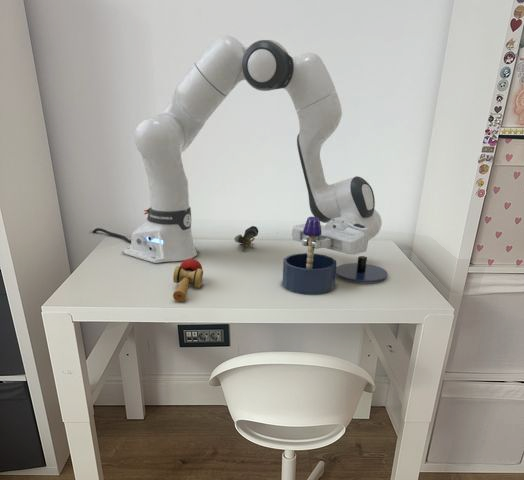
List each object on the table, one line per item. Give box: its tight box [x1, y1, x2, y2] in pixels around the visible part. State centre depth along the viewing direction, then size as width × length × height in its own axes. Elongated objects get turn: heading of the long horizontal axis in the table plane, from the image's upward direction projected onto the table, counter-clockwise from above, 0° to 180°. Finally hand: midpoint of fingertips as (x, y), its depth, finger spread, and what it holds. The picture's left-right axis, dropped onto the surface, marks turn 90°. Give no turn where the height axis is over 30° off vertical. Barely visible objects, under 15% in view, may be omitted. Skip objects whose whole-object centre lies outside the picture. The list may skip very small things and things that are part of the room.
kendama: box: [172, 258, 204, 303], centre depth 126 cm, size 8×6×18 cm
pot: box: [282, 252, 338, 295], centre depth 130 cm, size 14×14×6 cm
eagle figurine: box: [234, 225, 260, 252], centre depth 159 cm, size 8×7×9 cm
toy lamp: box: [303, 216, 322, 269], centre depth 127 cm, size 5×5×17 cm
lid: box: [336, 255, 389, 284], centre depth 138 cm, size 15×15×5 cm
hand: (309, 244), depth 126 cm, fingers closed on toy lamp
